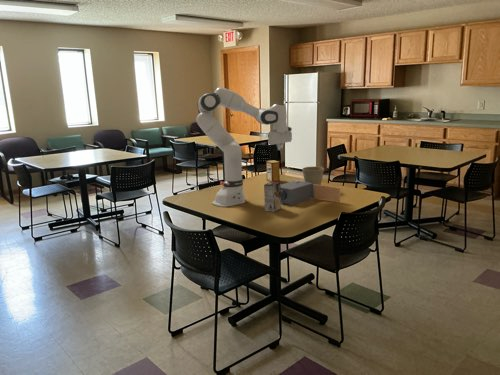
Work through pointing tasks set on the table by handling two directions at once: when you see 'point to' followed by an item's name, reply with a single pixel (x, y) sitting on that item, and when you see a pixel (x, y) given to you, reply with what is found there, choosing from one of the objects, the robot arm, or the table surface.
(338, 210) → the table surface
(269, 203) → the coffee box
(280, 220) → the table surface
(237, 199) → the robot arm
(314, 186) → the side door
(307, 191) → the camera housing
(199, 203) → the table surface
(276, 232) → the table surface
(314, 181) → the plant pot
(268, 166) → the baking soda box
